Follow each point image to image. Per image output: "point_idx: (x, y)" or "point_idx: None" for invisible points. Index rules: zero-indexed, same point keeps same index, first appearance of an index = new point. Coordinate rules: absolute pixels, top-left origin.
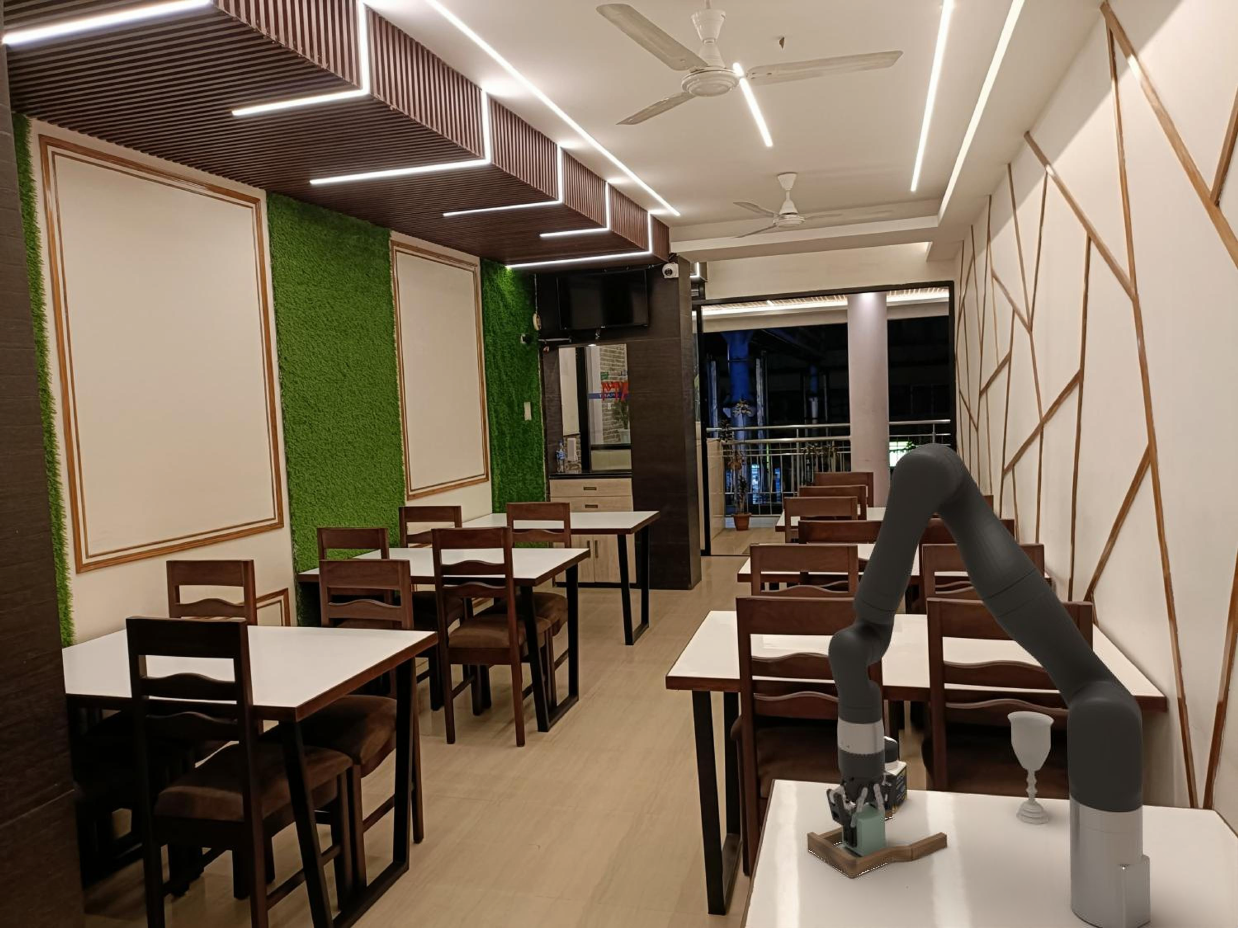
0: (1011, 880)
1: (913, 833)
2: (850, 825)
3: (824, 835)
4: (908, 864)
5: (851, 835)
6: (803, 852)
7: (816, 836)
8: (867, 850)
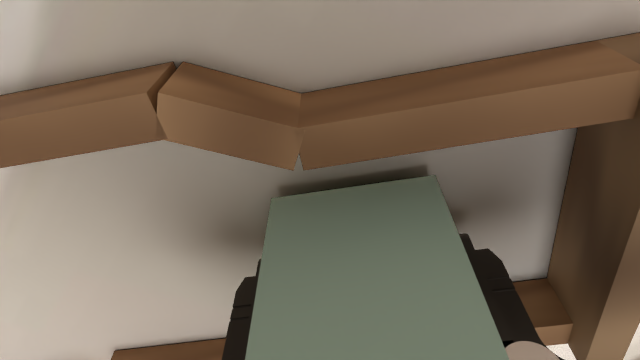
0: None
1: (68, 255)
2: (555, 358)
3: None
4: (221, 33)
5: (496, 293)
6: None
7: (607, 340)
8: (406, 194)
